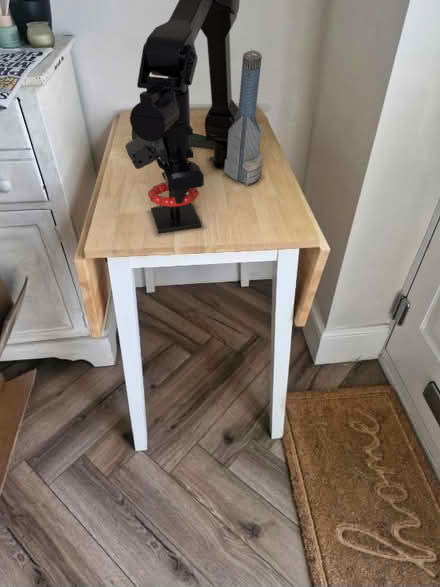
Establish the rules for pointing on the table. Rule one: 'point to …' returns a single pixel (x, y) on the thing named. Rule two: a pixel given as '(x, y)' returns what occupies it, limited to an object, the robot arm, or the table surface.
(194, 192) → the ring
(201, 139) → the tool
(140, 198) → the table surface
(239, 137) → the building
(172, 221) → the peg
